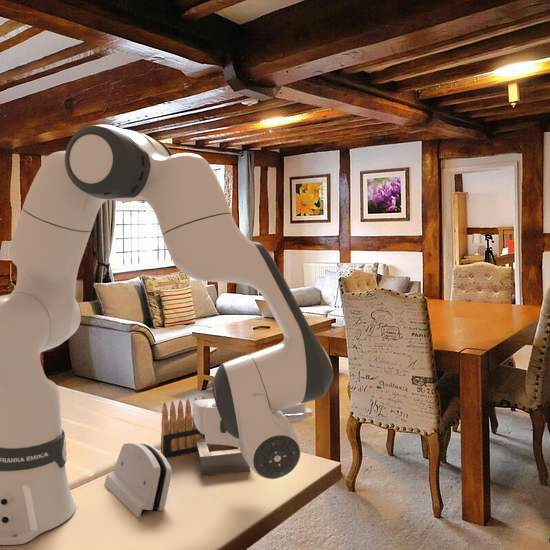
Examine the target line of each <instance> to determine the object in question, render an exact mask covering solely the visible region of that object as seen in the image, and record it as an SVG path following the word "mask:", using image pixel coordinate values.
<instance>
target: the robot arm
mask: <svg viewBox="0 0 550 550" xmlns="http://www.w3.org/2000/svg"><path fill="white" fill-rule="evenodd" d="M108 200H110V201H114V202H123V203H131V202H142V203H143V202H144V203H145V202H146V203H147V204H149V206H150V207H151V209H152V211H153V212H154V214H155V216H156V219H157V221H158V225H159V229H160V232H161V235H162V238H163V240H164V245H165V246H166V249H167V252H168V253H169V255H170V259H171V261H172V263H173V264H174V266H175V267H176V268H177V269H178V270H179V271H180V272H181V273H182V274H184V275H185V276H187V277H190V278H192V279H195V280H198V281H203V282H209V283H228V284H229V283H230V284H241V285H244V286H245V285H246V286H248V287H251V288H252V289H255V290H256V291H258V292H259V293H260V295H261V296H262V298H263V299H264V301H265V302H266V304H267V306H268V309H269V310H270V313H271V314H272V316H273V317H274V319H275V321H276V323H277V325H278V327H279V330H280V332H282V335H283V340H281V342H280V343H278V344H274V345H272V346H269V347H266V348H264V349H261V350H257V351H254V352H252V353H247V354H244V355H242V356H238V357H236V358H233V359H231V360H228V361H225V362H223V363H221V364H220V365H219V366H218V368H217V370H216V372H215V375H214V377H213V381H212V384H211V385H212V393H213V398H205V399H202V398H200V399H197V400H196V401H194V400H193V402H192V417H193V420H194V423H195V426H196V427H197V429H198V431H199V432H200V433H202V434H204V435H205V439H206V442H207V443H208V444H216V445H229V446H234V447H238V448H239V449H240V451H241V453H242V455H243V457H244V459H245V461H246V462H247V464H248V465H249V466H250V470H252V471H253V472H254V473H255V474H256V475H258V476H260V477H261V478H264V479H269V480H273V479H274V480H276V479H280V478H283V477H284V476H286V475H289V474H290V473H292V471H293V470H294V469H295V468H296V467H297V465H298V463H299V461H300V459H301V454H302V448H301V444H300V441H299V438H298V435H297V433H296V431H295V429H294V427H293V425H294V424H300V423H303V422H305V420H307V419H308V418H309V417H313V415H314V413H313V410H312V409H311V408H310V407H306V403H309V402H312V401H315V400H316V401H317V400H319V399H322V398H323V397H324V396H325V395H326V393H327V391H328V390H329V388H330V386H331V384H332V383H333V379H334V376H335V375H334V370H333V365H332V362H331V359H330V357H329V355H328V353H327V351H326V350H325V348H324V346H322V344H321V342H320V341H319V340H318V338H317V336H316V335H315V333H314V332H313V331H314V330H313V329H312V328H311V326H310V324H309V323H308V320H307V319H306V317H305V315H304V314H303V311H302V310H301V308H300V305H299V304H298V302H297V299H296V298H295V296H294V293H293V292H292V290H291V288H290V287H289V285H288V282H287V281H286V279H285V278H284V275H283V274H282V272H281V270H280V269H279V267H278V265H277V263H276V261H275V260H274V258H273V256H272V255H271V254H270V252H269V251H268V249H267V248H266V247H265V246H264V245H263V244H262V243H261V242H257V241H251V240H250V239H249V238H248V237H247V236H246V235H245V234H244V233H243V232H242V231H241V230H240V228H239V227H238V225H237V224H236V221H235V219H234V217H233V214H232V211H231V208H230V206H229V202H228V199H227V198H226V195H225V192H224V190H223V188H222V185H221V184H220V182H219V179H218V178H217V176H216V174H215V172H214V170H213V169H212V167H211V164H210V163H209V162H208V161H207V159H205V158H204V157H202V156H201V155H199V154H196V153H192V152H181V153H174V154H173V152H172V151H171V150H170V148H169V147H167V145H165V144H164V143H163V142H162V141H160V140H159V139H156V138H153V137H151V136H148V135H146V134H145V133H142V132H140V131H137V130H133V129H124V128H119V127H117V126H113V125H110V124H95V125H94V124H93V125H89V126H86V127H83V128H82V129H80V130H78V131H77V132H76V133H74V135H73V136H72V137H71V138H70V139H69V141H68V143H67V145H66V149H65V150H60V151H55V152H52V153H51V154H49V155H48V156H46V158H45V159H44V160H43V163H42V164H41V166H40V167H39V170H38V171H37V173H36V175H35V176H34V179H33V181H32V182H31V185H30V187H29V190H28V192H27V193H26V197H25V199H24V203H23V205H22V208H21V211H20V214H19V217H18V221H17V223H16V226H15V229H14V232H13V234H12V235H13V236H12V238H11V241H10V244H9V247H8V255H9V258H10V259H11V262H12V263H13V264H14V266H15V267H16V273H17V274H16V275H17V276H16V284H15V287H14V288H13V290H12V292H10V293H9V294H3V295H0V546H6V545H7V546H9V545H13V546H15V545H23V544H27V543H28V542H30V541H32V540H33V539H35V538H37V537H38V536H39V535H41V534H43V533H45V532H47V531H50V530H52V529H54V528H56V527H58V526H61V524H64V523H65V522H66V521H67V520H69V519H70V518H71V517H72V516H73V515H74V513H75V511H76V509H77V508H76V507H77V505H76V502H75V500H74V498H73V495H72V492H71V488H70V484H69V480H68V474H67V471H66V463H67V458H68V457H67V441H66V440H67V439H66V437H65V436H66V435H65V431H64V429H63V426H62V410H61V409H62V408H61V407H62V406H61V392H60V388H59V386H58V385H57V384H56V383H55V382H54V381H53V380H51V379H48V377H47V376H46V374H45V371H44V368H43V366H42V362H41V353H42V352H43V353H44V352H46V351H48V350H51V349H54V348H56V347H59V346H60V345H62V344H63V343H64V342H66V341H67V340H68V339H70V338H71V337H72V336H73V335H74V334H75V333H76V332H77V331H78V330H79V327H80V323H81V321H82V313H81V308H80V305H79V303H78V301H77V300H76V289H77V287H76V286H77V277H78V273H79V268H80V265H81V262H82V259H83V256H84V254H85V250H86V248H87V244H88V243H89V242H88V241H89V239H90V236H91V232H92V230H93V228H94V224H95V221H96V219H97V215H98V213H99V211H100V208H101V207H102V205H103V204H104V203H106V202H107V201H108Z"/></svg>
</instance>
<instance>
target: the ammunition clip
mask: <svg viewBox="0 0 550 550" xmlns="http://www.w3.org/2000/svg"><path fill="white" fill-rule="evenodd" d="M201 399H206V398H205V396H202V397H201ZM196 400H198V398H197V397H194V399H193V402H194V401H196ZM191 408H192V407H191V403H190V400H189V398H187V399H186V401H185V412H184V406H183V401H182V400H181V399H179V401H178V404H177V414H176V406H175V402H174V400H172V401H171V403H170V408H169V411H168V406H167V404H166V402H164V403H163V405H162V409H161V413H162V414H161V421H160V422H161V425H160V426H161V434H160V436H161V437H160V440H161V441H160V452H161V453H162V454H163V455H164V457H165V458H166V459H168V458H169V459H170V458H174V457H179V456H185V455H189V454H192V453H193V454H194V453H196V439H197V438H205V435H204V434H202V433H200V432H199V431H198V429H197V427H196V426H195V423H194V420H193V414H192V409H191ZM168 412H169V413H168Z"/></svg>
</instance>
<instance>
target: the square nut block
mask: <svg viewBox="0 0 550 550" xmlns="http://www.w3.org/2000/svg"><path fill="white" fill-rule="evenodd" d="M195 458H196V462H197V466H198V471H199V475H200V477H207V476H216V475H217V474H218V475H225V474H232V473H233V474H236V473H242V472H250V471H251V468H250V466H249V465H248V464H247V462H246V461H245V459H244V457H243V455H242V453H241V451H240V449H239V448H238V447H234V446H229V445H216V444H208V443H207V442H206V439H205V438H197V439H196V452H195Z"/></svg>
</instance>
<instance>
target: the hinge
mask: <svg viewBox="0 0 550 550" xmlns="http://www.w3.org/2000/svg"><path fill="white" fill-rule="evenodd" d="M167 459H168V458H165V457H164V455H163V454H162V453H161V450H160V449H157V448H156V447H154V446H152V445H148V444H146V443H138V442H129V443H124V444H122V446H121V449H120V451H119V454H118V457H117V460H116V463H115V466H114V468H113V471H111V472H110V473H109V474H107V475H106V477H105V481H104V486H105V487H106V488H107V489H108V490H109V491H110V492H111V493H112V494H113V495H114V496H115V497H116V498H117V499H118V500H119V501H120V502H121V503H122V504H123V505H124V507H126V508H127V509H128V510H129V511H130V512H131V513H132V514H133V515H134V516H135V518H137V519H138V518H141V516H142V512H143V510H144V511H145V510H146V511H153V509H157V510H158V511H163V510H165V507H166V502H167V498H168V493H169V488H170V484H171V478H172V473H173V471H172V467H171V464H170V463H169V462H168V460H167Z"/></svg>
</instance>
